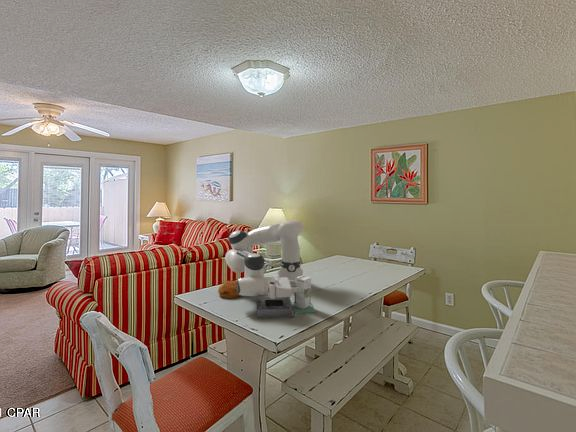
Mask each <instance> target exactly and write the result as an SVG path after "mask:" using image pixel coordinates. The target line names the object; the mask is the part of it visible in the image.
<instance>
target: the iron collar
mask: <svg viewBox="0 0 576 432" xmlns="http://www.w3.org/2000/svg"><path fill="white" fill-rule="evenodd" d="M256 297H257V298H256V299H257V300H256V320H258V319H259V320H260V319H288V318H289V319H292V318H294V312H293V307H292V304H291V302H292V300H291V296H290V297H283V298H277V297H275V299H271V298H270V297H268V296H261V297H258V296H256Z"/></svg>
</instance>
